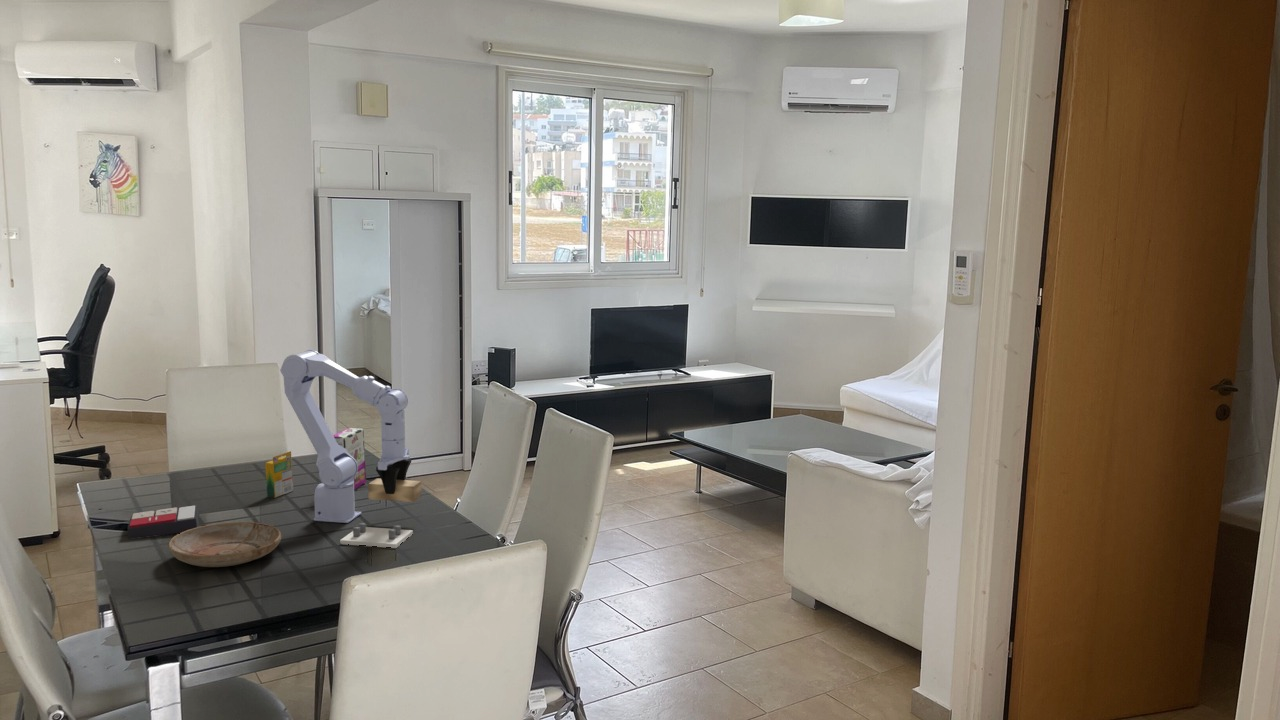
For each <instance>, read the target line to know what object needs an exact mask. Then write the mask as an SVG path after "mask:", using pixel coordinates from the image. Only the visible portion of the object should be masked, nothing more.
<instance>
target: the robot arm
mask: <svg viewBox="0 0 1280 720" xmlns="http://www.w3.org/2000/svg"><path fill="white" fill-rule="evenodd" d="M280 373H281V374H282V377H283V385H284V386H283V387H284V394H285V396H286V399H287V400H288V402H289V404H290V405H291V408H292V410H293V411H294V413H295V414H296V417H297V418H298V420H299V422H300V424H301V426H302V428H303V430H304V432H305V433H306V434H307V436H308V439H309V440H310V443H311V444H312V446H313V449H314V450H315V452H316V454H317V459H316V463H315V464H316V465H315V466H316V467H317V469H318V476H319V480H320V481H321V483H319V484H317V486H316V487H315V490H314V494H313V499H314V501H313V502H314V518H313V521H315V522H327V523H343V524H349V523H350V522H352V521H353V520H355V519H356V518H357V517H359V516H361V514H362V511H356V506H355V505H356V502H355V501H356V500H355V498H356V497H355V490H354V476H355V475H356V473H357V471H358V464H357V461H356V460H355V459H354V458H353V457H352V456H351V455H349V453H348V452H347V450H346V449H345V448H343V447H342V446H340V445H338V444H337V442H336V440H335V438H334V436H333V435H334V434H333V432H332V430H331V429H330V426H328V423H327V421H326V420H325V418H324V416H323V414H322V412H321V410H320V408H319V407H318V405H317V403H316V401H315V399H314V397H313V395H312V394H311V391H310V389H311V387H312V384H313V381H314V380H315V378H316V377H325V378H327V379H330V380H332V381H334V382H337V383H338V384H341V385H343V386H345V387H347V388H349V389H351V390H352V393H353V395H354V396H355V397H356V398H358V399H360V400H362V401H364V402H366V403H368V404H370V405H371V406H373V407H375V408H376V409H377V412H378V413H379V414H380V420H381V421H380V423H381V424H380V425H381V431H380V432H381V455H380V459H379V461H378V462H377V466H376V467H375V472H376V473H377V474H378V476H379V478H380V479H381V480H382V483H383V486H384V490H385V493H386V494H394V493H395V487H396V480H406V476H407V472H408V470H409V467H410V465H411V464H412V458H411V456H410V448H407V447H406V429H405V428H406V426H405V425H406V423H405V422H406V421H405V420H406V419H405V409H406V408H407V407H408V404H409V399H408V396H407V394H406V393H405V392H404V391H402V389H400V388H393V389H392V386H390V385H384V384H383V383H381V382H379V381H377V380H375V377H374V376H372V375H368V376H367V375H363V376H357V375H356V374H355V373H352V372H351V371H350V370H348V369H346V368H344V367H343V366H341V365H339V364H338V363H337V362H334V361H333V360H332V359H330V358H329V357H328V356H326V355H325V354H324V353H319V352H318V351H316V350H314V349H308V350H306V351H303V352H300V353H297V354H291V355H288V356H286V357H285V359H284V360H283V363H282V365H281V368H280Z"/></svg>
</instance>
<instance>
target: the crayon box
mask: <svg viewBox="0 0 1280 720" xmlns="http://www.w3.org/2000/svg"><path fill="white" fill-rule="evenodd" d="M292 466H293V465H292V450H291V451H288V452H284V453H280V454H278V455H276V456H275V455H274V456H272V460H269V461H266V462H265V480H266V481H265V482H266V496H267V497H268V498H274V499H276V498H278V497H281V496H284V495H286V494H289V493H291V492H294V481H293V467H292Z"/></svg>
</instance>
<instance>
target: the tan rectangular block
mask: <svg viewBox="0 0 1280 720" xmlns="http://www.w3.org/2000/svg"><path fill="white" fill-rule="evenodd" d="M367 489H368V500H376V501H377V500H378V501H391V502H392V501H393V502H408V503H415V502H416V501H417V500H419V499H420V498H421V497H422V480H411V479H410V480H408V479H405V480H396V487H395V493H394V494H386V493H385V490H384V486H383V483H382V480H381V478H380V477H378V478H377V477H376V478H375V479H374V480H372V481H370V482H369V483H368V487H367Z"/></svg>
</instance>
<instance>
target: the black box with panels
mask: <svg viewBox="0 0 1280 720" xmlns="http://www.w3.org/2000/svg"><path fill="white" fill-rule="evenodd" d="M199 519H200V518H199V510H198V506H197V505H189V506H182V507H179V508H178V507H170V508H162V509H156V511H155V510H149V511H141V512H133V514H132V515H131V517H130V519H129V522H128V525H127V537H128V539H129V540H133V539H132V538H134V539H139V538H138V537H143V538H148V537H147V536H152V537H154V536H153V535H160V536H166V535H165V534H167V535H172V534H173V535H174V534H178V533H182V532H184V531H187V530H190V529H193V528H197V527H199V521H200V520H199ZM163 534H164V535H163Z"/></svg>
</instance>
